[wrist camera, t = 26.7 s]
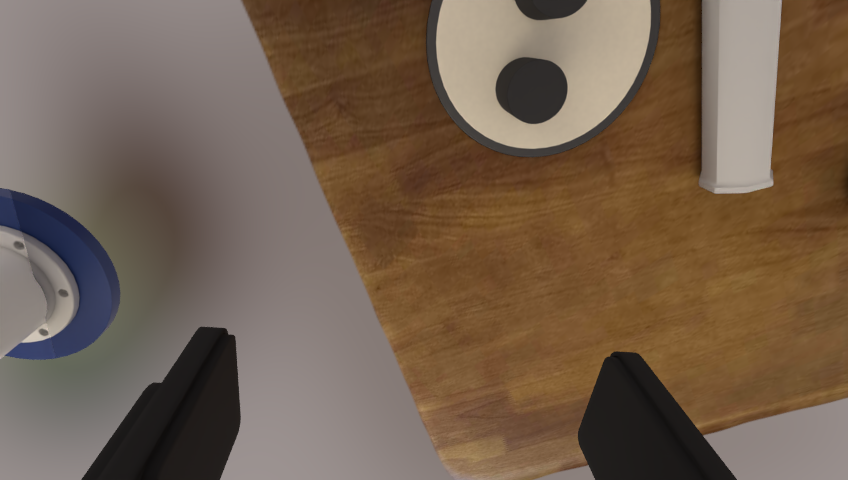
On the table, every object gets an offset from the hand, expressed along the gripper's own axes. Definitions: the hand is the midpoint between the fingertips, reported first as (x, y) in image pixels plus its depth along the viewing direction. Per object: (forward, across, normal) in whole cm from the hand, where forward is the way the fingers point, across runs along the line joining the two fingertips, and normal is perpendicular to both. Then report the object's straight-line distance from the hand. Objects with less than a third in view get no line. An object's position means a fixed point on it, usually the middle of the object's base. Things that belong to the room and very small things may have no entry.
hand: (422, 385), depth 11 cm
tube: (+28, -24, -12) cm, 39 cm away
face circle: (+28, -10, -9) cm, 31 cm away
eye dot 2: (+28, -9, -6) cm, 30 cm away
